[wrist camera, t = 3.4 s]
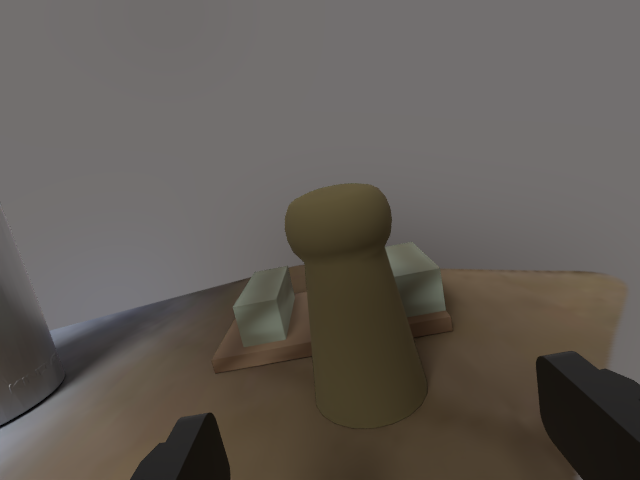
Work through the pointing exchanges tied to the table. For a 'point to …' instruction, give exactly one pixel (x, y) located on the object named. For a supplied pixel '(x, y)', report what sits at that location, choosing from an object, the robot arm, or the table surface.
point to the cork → (355, 307)
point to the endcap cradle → (293, 317)
